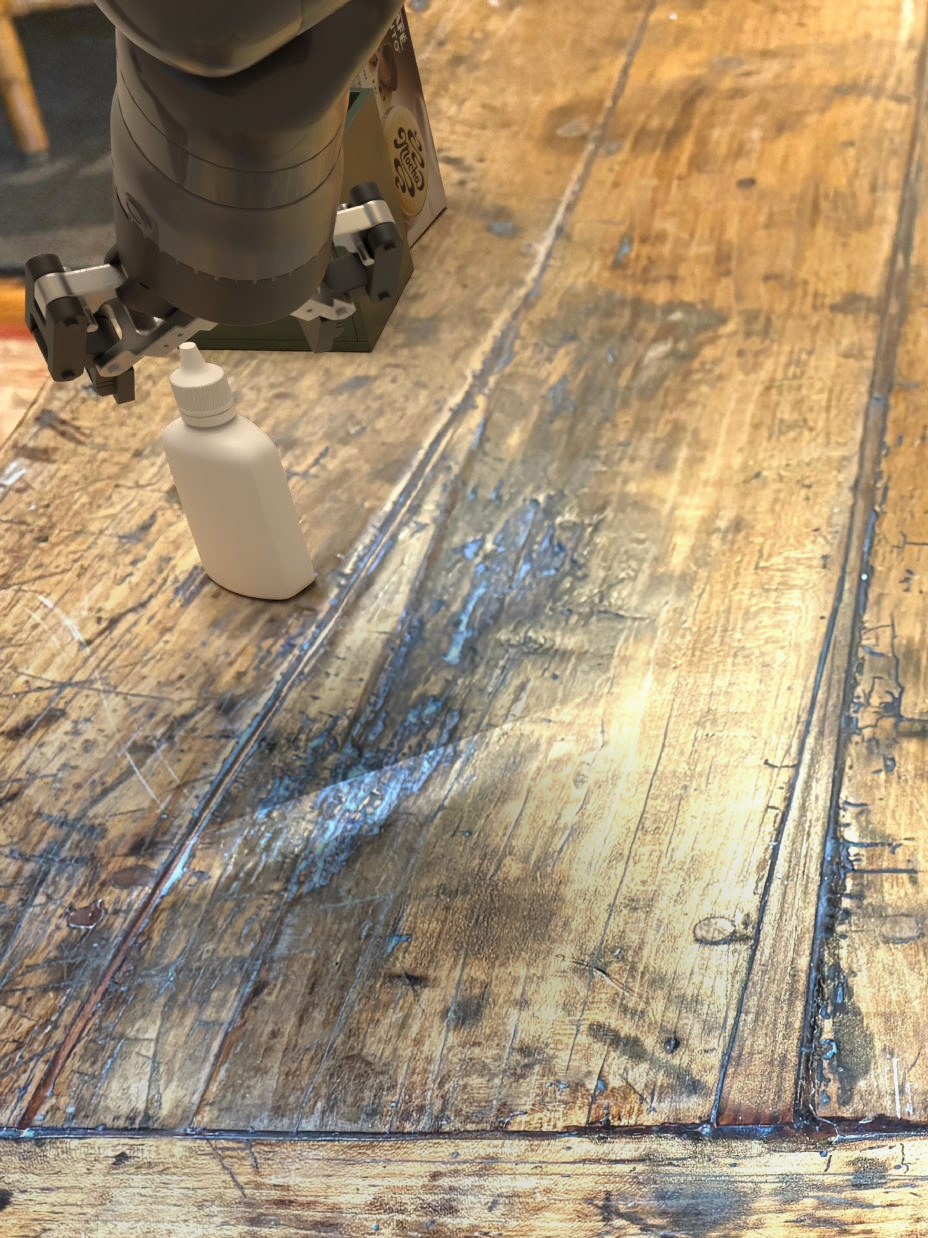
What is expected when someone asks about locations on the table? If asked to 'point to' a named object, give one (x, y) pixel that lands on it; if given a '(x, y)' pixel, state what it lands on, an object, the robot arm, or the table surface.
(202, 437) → the eye dropper bottle
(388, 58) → the coffee box
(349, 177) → the trash can
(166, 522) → the table surface
